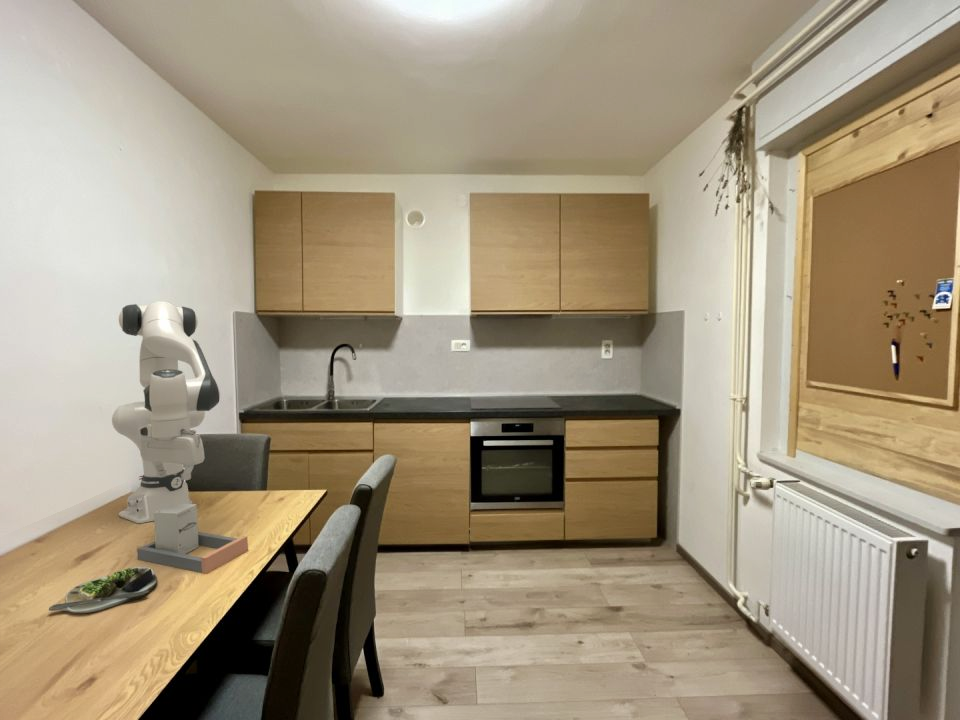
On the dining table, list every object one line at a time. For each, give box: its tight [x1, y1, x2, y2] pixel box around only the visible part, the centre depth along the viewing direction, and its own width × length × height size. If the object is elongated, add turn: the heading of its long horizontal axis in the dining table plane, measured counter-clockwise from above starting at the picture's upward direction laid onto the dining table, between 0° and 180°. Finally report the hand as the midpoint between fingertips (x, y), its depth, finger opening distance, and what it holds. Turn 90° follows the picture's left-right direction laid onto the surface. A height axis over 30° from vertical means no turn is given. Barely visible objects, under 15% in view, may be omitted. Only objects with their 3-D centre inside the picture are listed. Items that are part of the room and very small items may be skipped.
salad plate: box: [48, 566, 158, 614], centre depth 107 cm, size 19×18×5 cm
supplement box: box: [153, 503, 200, 555], centre depth 128 cm, size 7×7×13 cm
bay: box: [136, 531, 249, 575], centre depth 126 cm, size 25×13×4 cm, turn 71°
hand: (173, 478), depth 127 cm, fingers open, 8 cm apart
